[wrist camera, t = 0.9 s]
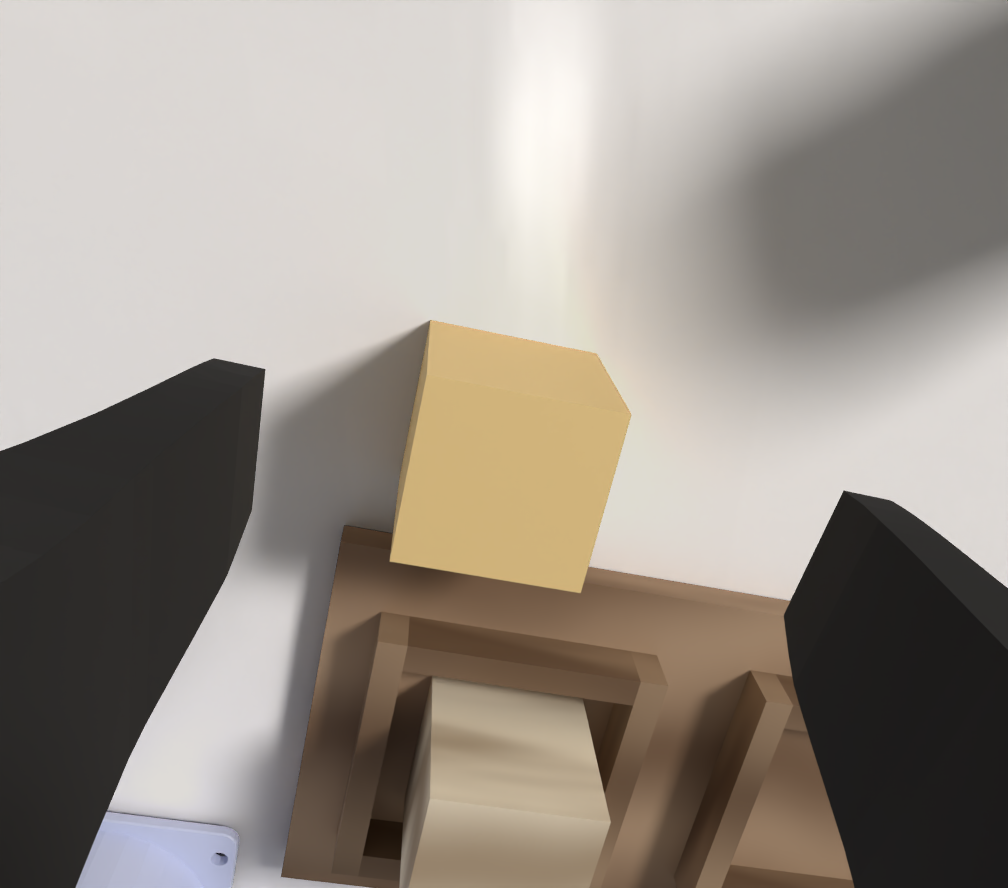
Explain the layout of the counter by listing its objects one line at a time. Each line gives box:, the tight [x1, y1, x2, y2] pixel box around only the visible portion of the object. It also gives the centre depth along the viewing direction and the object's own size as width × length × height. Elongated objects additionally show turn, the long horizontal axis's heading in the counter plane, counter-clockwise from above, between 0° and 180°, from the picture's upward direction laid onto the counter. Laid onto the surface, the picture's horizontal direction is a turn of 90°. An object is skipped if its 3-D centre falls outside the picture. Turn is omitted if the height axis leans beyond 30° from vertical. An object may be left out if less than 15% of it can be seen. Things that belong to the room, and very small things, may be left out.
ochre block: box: [390, 320, 631, 593], centre depth 23 cm, size 4×4×5 cm
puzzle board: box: [281, 525, 854, 888], centre depth 27 cm, size 12×33×6 cm, turn 78°
